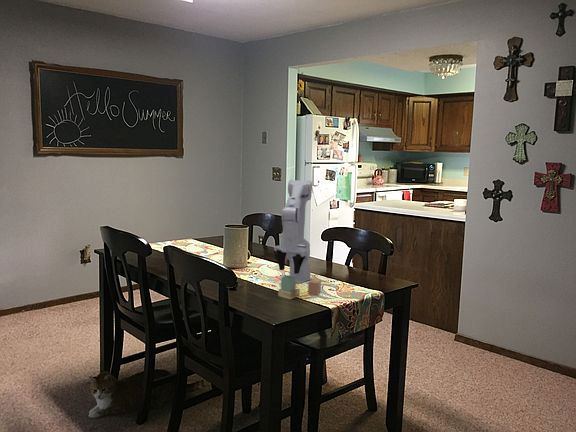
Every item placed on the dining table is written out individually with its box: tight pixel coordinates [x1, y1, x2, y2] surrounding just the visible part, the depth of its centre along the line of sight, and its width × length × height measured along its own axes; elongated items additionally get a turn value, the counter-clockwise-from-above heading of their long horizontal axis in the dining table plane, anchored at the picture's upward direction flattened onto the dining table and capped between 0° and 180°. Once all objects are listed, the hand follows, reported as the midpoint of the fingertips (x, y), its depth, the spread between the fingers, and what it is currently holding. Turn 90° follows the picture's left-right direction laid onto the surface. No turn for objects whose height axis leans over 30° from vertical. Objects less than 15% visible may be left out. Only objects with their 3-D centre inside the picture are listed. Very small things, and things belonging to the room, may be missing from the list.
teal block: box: [280, 275, 297, 292], centre depth 201 cm, size 4×4×5 cm
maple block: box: [277, 288, 301, 300], centre depth 202 cm, size 6×6×3 cm
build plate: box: [227, 276, 243, 292], centre depth 212 cm, size 12×7×5 cm, turn 170°
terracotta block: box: [307, 279, 322, 296], centre depth 206 cm, size 4×4×5 cm
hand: (289, 271), depth 200 cm, fingers open, 7 cm apart
